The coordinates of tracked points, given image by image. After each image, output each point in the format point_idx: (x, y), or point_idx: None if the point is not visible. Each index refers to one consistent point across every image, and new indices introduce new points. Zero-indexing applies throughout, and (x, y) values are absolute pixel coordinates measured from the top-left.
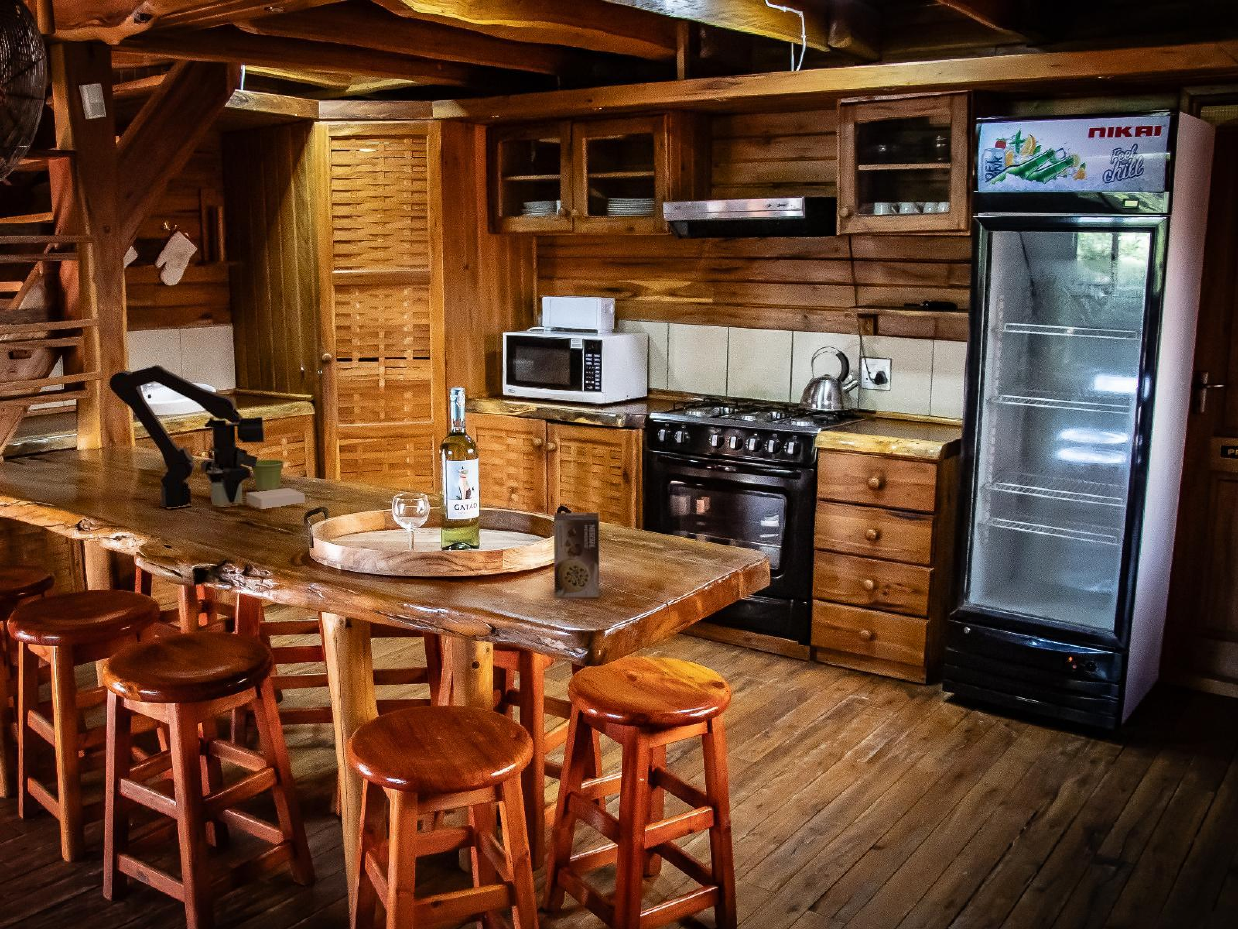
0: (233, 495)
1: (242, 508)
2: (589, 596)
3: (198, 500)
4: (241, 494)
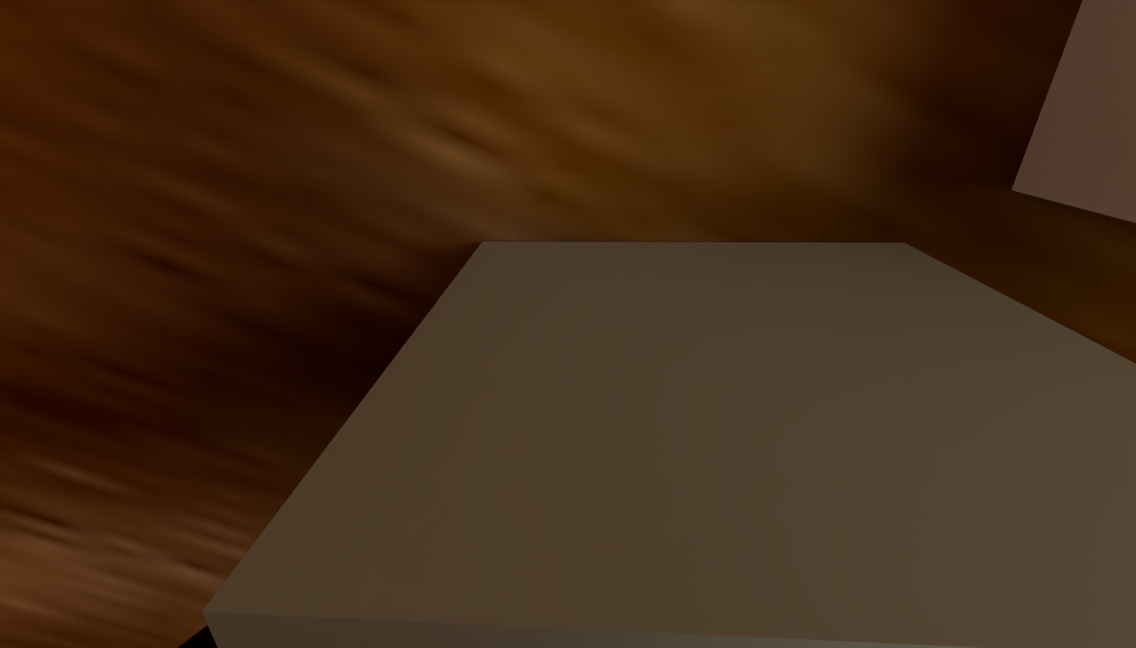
0: None
1: (1108, 339)
2: None
3: (131, 540)
4: (1079, 352)
